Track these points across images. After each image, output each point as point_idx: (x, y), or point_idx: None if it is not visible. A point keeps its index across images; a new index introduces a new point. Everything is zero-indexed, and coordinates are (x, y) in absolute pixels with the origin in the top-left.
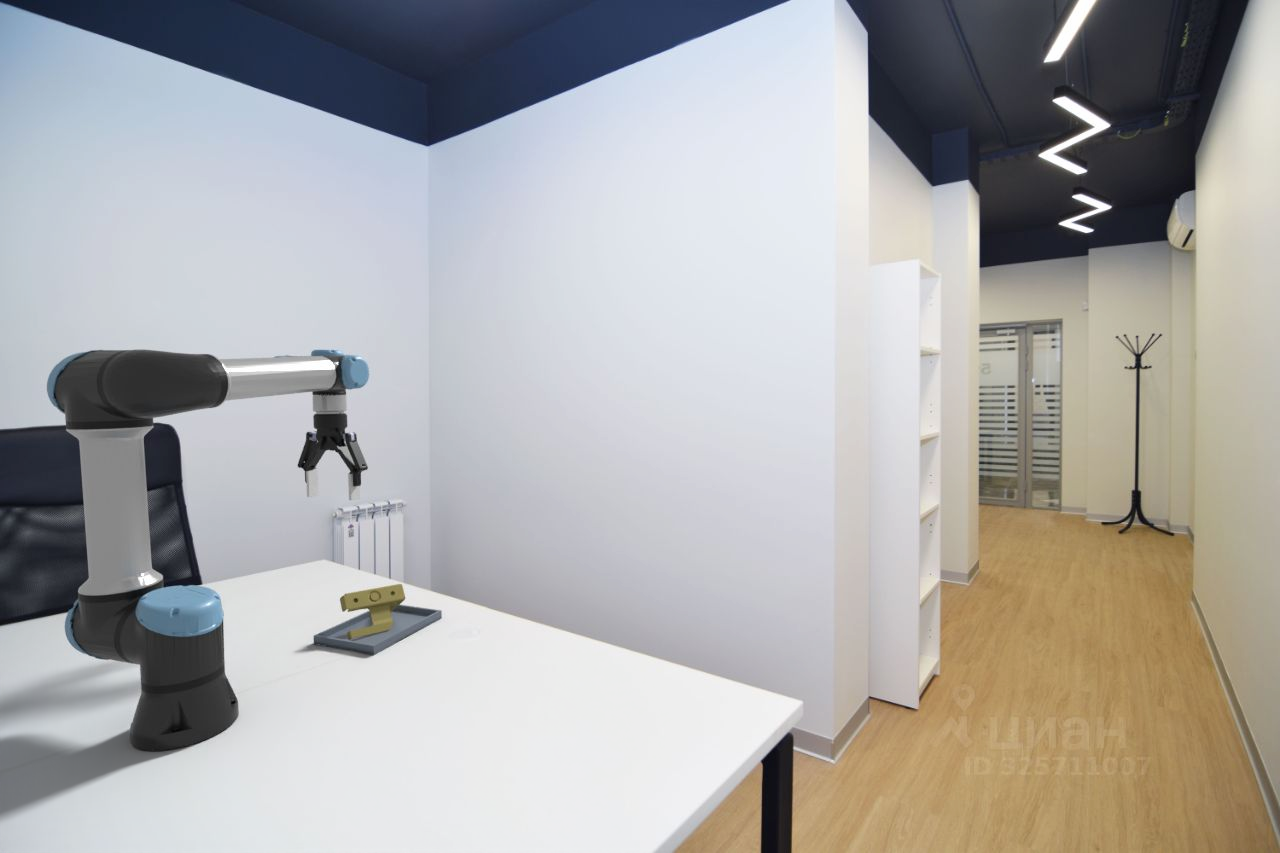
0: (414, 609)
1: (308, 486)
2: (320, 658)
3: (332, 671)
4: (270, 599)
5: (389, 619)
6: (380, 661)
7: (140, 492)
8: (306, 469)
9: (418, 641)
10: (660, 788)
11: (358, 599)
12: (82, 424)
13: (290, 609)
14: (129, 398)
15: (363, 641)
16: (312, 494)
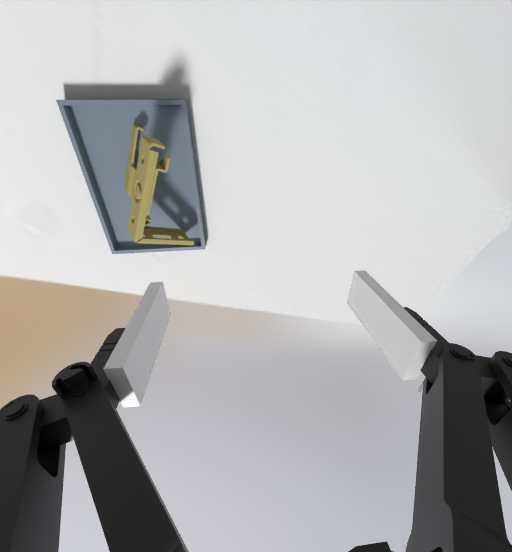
0: (155, 247)
1: (377, 293)
2: (124, 54)
3: (52, 10)
4: (384, 217)
5: (130, 192)
6: (31, 83)
7: None
8: (443, 349)
9: (63, 173)
10: None
11: (142, 164)
12: None
13: (330, 199)
14: None
15: (119, 132)
16: (354, 287)
